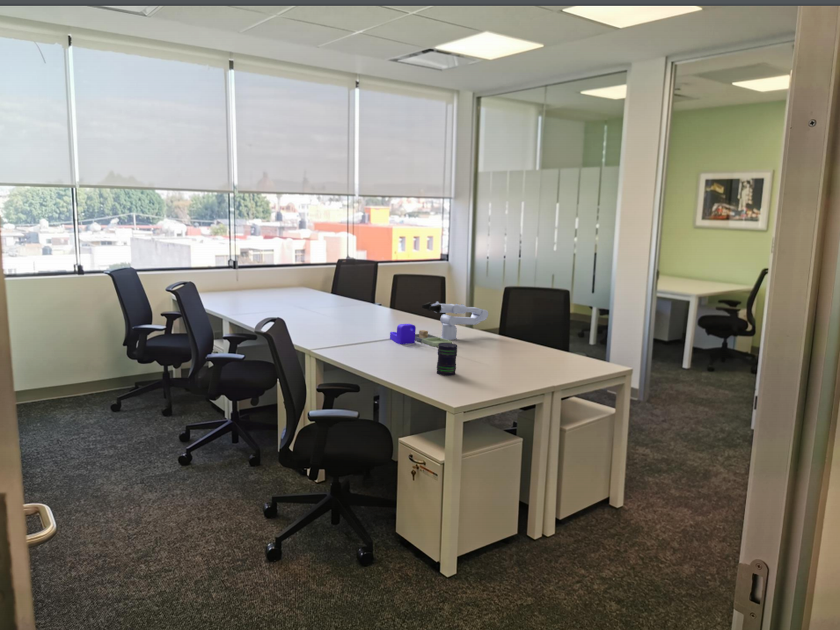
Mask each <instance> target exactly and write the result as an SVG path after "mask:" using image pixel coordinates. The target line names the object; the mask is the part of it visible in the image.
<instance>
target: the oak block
mask: <svg viewBox="0 0 840 630" xmlns="http://www.w3.org/2000/svg"><path fill="white" fill-rule="evenodd" d="M418 334H419V338H428V334H429V331H428V330H425V329H420V330H418Z"/></svg>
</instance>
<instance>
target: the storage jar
mask: <svg viewBox="0 0 840 630" xmlns="http://www.w3.org/2000/svg"><path fill="white" fill-rule="evenodd" d="M438 346H439V347H437V355H438V356H437V362H436V374H437V375H438V376H439V375H440V376H443V377H445V376H447V377H451V376H455V375H456V370H457V357H458V356H457V355H458V345H457V344H456V343H453V342H452V343H439V344H438Z"/></svg>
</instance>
